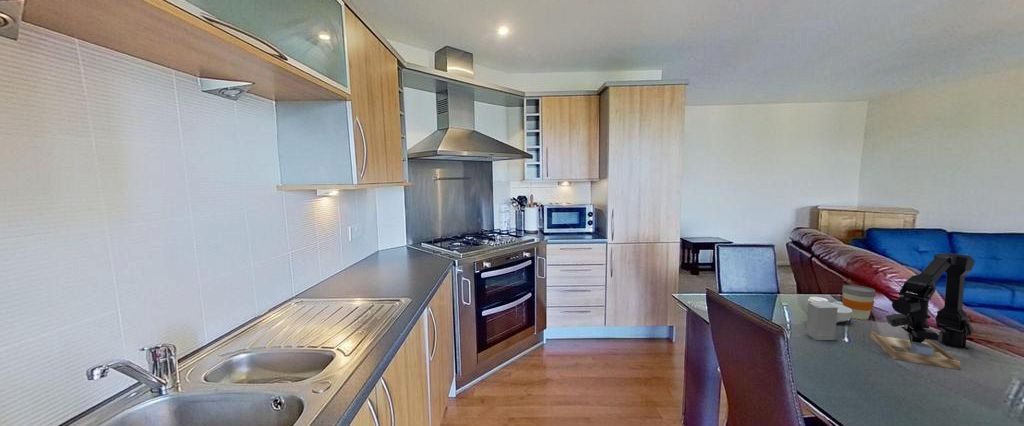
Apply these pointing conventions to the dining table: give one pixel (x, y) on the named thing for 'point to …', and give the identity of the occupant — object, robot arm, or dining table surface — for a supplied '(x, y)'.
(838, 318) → the cereal bowl
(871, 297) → the reusable coffee cup
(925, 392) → the dining table surface
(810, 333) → the skincare box
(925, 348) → the slate block
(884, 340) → the tray
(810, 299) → the paper cup
